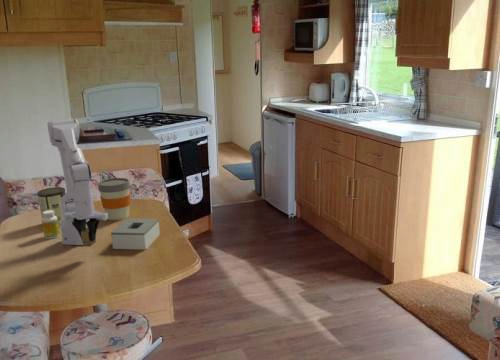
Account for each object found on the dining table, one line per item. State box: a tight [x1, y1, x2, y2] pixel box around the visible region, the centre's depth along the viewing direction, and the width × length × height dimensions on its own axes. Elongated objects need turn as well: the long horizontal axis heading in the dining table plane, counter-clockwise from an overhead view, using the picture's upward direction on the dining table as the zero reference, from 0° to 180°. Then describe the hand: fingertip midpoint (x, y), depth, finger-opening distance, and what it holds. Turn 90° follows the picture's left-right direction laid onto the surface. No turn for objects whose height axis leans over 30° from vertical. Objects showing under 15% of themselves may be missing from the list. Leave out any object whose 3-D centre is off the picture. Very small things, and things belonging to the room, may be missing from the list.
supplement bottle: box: [41, 210, 61, 240], centre depth 180 cm, size 5×5×10 cm
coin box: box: [110, 218, 161, 250], centre depth 172 cm, size 12×14×6 cm
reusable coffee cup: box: [98, 177, 131, 221], centre depth 199 cm, size 13×13×15 cm
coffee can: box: [36, 186, 66, 228], centre depth 193 cm, size 10×10×14 cm
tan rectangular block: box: [81, 228, 97, 248], centre depth 158 cm, size 2×4×5 cm, turn 171°
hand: (88, 239), depth 159 cm, fingers closed on tan rectangular block, 2 cm apart
